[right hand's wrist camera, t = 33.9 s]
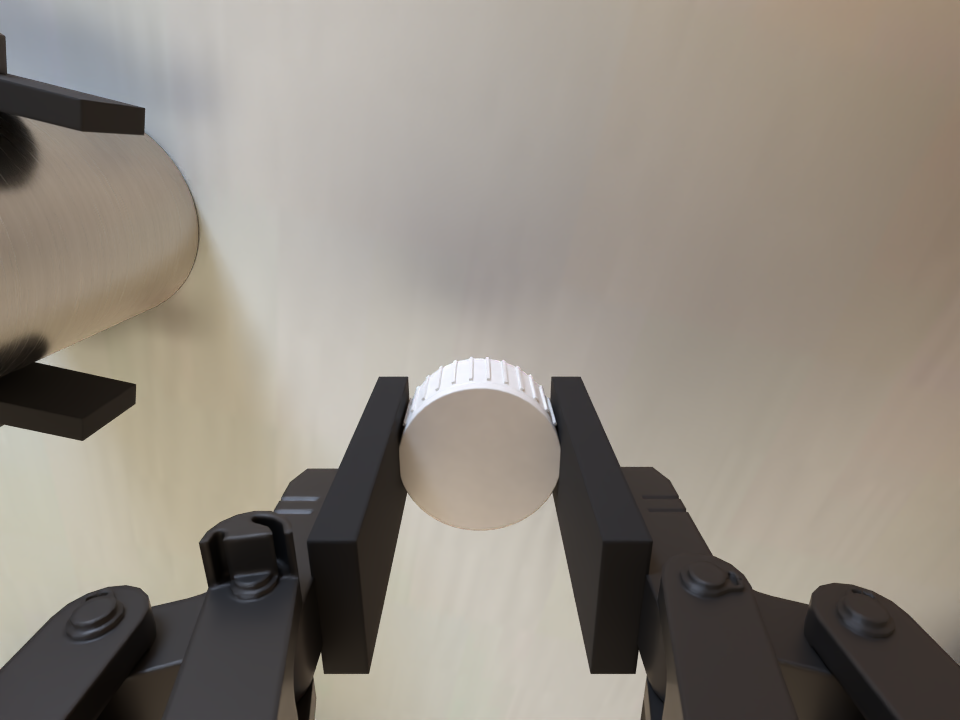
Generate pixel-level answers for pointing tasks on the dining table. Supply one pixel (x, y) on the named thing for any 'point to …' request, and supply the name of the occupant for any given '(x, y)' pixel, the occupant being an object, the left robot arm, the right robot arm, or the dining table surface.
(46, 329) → the bottle
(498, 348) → the dining table surface
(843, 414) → the dining table surface
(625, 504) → the right robot arm
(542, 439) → the cap
